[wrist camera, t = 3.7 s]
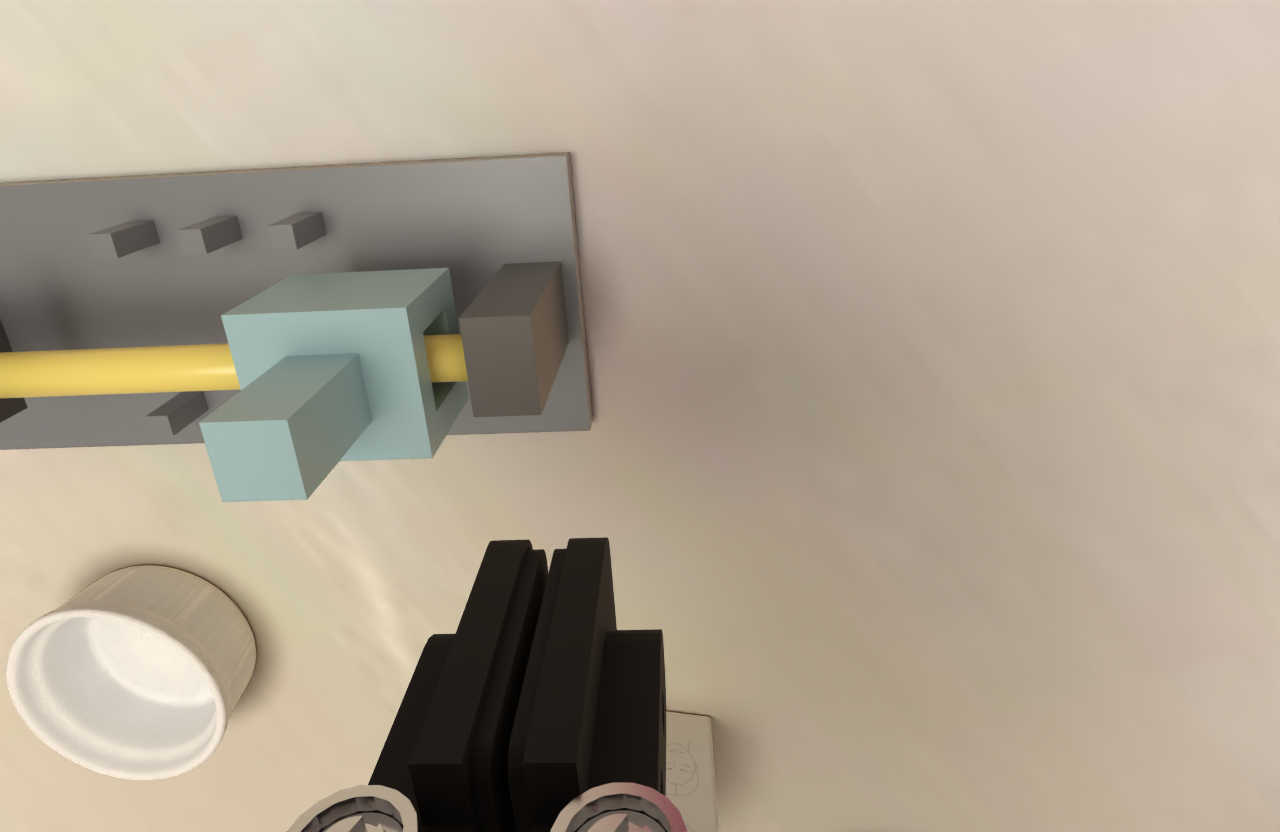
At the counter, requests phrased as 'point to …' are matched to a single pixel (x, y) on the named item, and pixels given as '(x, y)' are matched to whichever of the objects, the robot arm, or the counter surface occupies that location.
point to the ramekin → (134, 673)
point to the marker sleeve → (331, 380)
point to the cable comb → (263, 256)
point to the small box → (691, 770)
